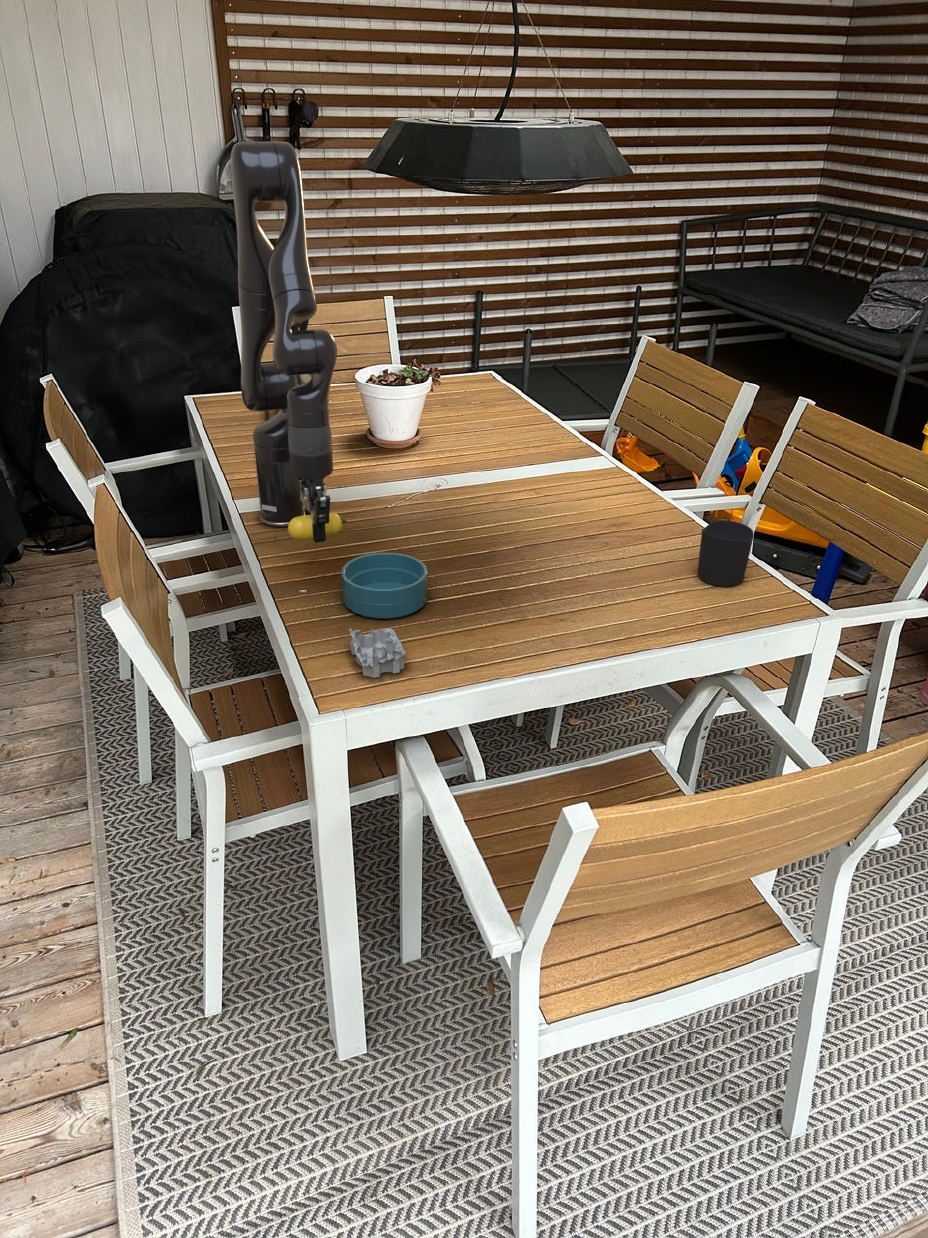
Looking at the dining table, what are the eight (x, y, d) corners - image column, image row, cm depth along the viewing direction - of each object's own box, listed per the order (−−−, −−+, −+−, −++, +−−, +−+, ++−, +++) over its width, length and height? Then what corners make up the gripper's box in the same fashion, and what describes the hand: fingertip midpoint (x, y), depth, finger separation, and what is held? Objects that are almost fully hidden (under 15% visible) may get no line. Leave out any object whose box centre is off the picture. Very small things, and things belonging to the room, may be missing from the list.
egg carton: (347, 648, 158) (346, 626, 156) (391, 641, 160) (390, 620, 158) (362, 681, 149) (361, 659, 147) (408, 673, 151) (408, 651, 149)
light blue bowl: (327, 596, 173) (325, 566, 170) (395, 574, 182) (395, 545, 179) (373, 629, 163) (372, 598, 160) (443, 604, 171) (444, 574, 168)
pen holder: (753, 586, 180) (762, 538, 175) (707, 590, 178) (715, 542, 173) (731, 565, 188) (740, 518, 183) (687, 568, 186) (694, 521, 181)
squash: (292, 546, 171) (290, 523, 169) (286, 536, 174) (284, 514, 172) (350, 537, 175) (349, 515, 173) (342, 527, 178) (341, 506, 176)
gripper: (343, 458, 162) (347, 548, 170) (319, 431, 173) (324, 517, 181) (300, 463, 159) (306, 555, 167) (279, 436, 170) (285, 523, 179)
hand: (315, 535), depth 174 cm, fingers closed on squash, 4 cm apart
